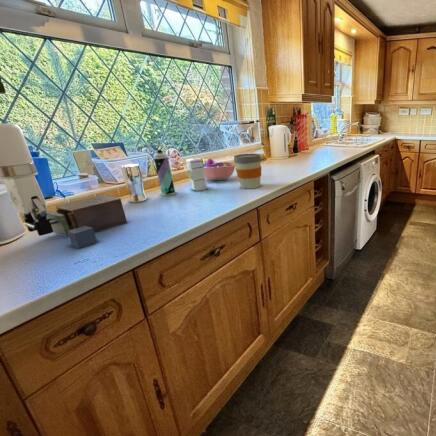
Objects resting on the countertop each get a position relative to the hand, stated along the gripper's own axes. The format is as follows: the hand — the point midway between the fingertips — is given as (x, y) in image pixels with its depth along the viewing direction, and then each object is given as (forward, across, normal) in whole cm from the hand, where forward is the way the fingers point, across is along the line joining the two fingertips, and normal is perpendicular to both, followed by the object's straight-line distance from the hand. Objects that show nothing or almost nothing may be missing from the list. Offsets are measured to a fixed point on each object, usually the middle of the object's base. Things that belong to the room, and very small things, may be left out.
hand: (41, 231), depth 88 cm
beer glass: (+4, -19, +39) cm, 43 cm away
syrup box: (+4, -10, +63) cm, 64 cm away
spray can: (+4, -16, +51) cm, 53 cm away
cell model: (+4, -17, +81) cm, 83 cm away
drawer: (+2, 0, +7) cm, 8 cm away
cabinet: (+3, 0, +14) cm, 14 cm away
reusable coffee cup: (+4, +10, +77) cm, 77 cm away
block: (+3, +13, +5) cm, 14 cm away
